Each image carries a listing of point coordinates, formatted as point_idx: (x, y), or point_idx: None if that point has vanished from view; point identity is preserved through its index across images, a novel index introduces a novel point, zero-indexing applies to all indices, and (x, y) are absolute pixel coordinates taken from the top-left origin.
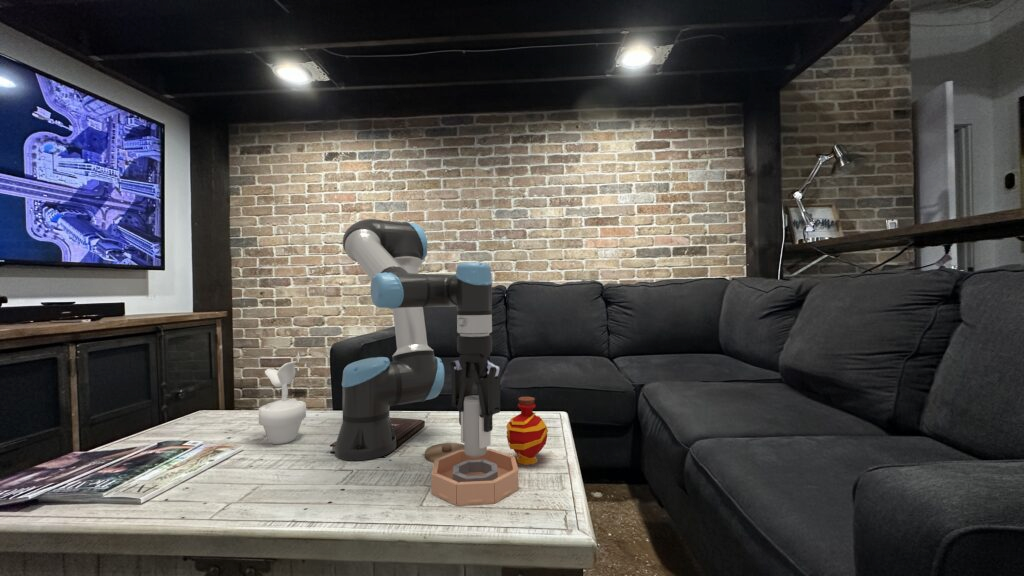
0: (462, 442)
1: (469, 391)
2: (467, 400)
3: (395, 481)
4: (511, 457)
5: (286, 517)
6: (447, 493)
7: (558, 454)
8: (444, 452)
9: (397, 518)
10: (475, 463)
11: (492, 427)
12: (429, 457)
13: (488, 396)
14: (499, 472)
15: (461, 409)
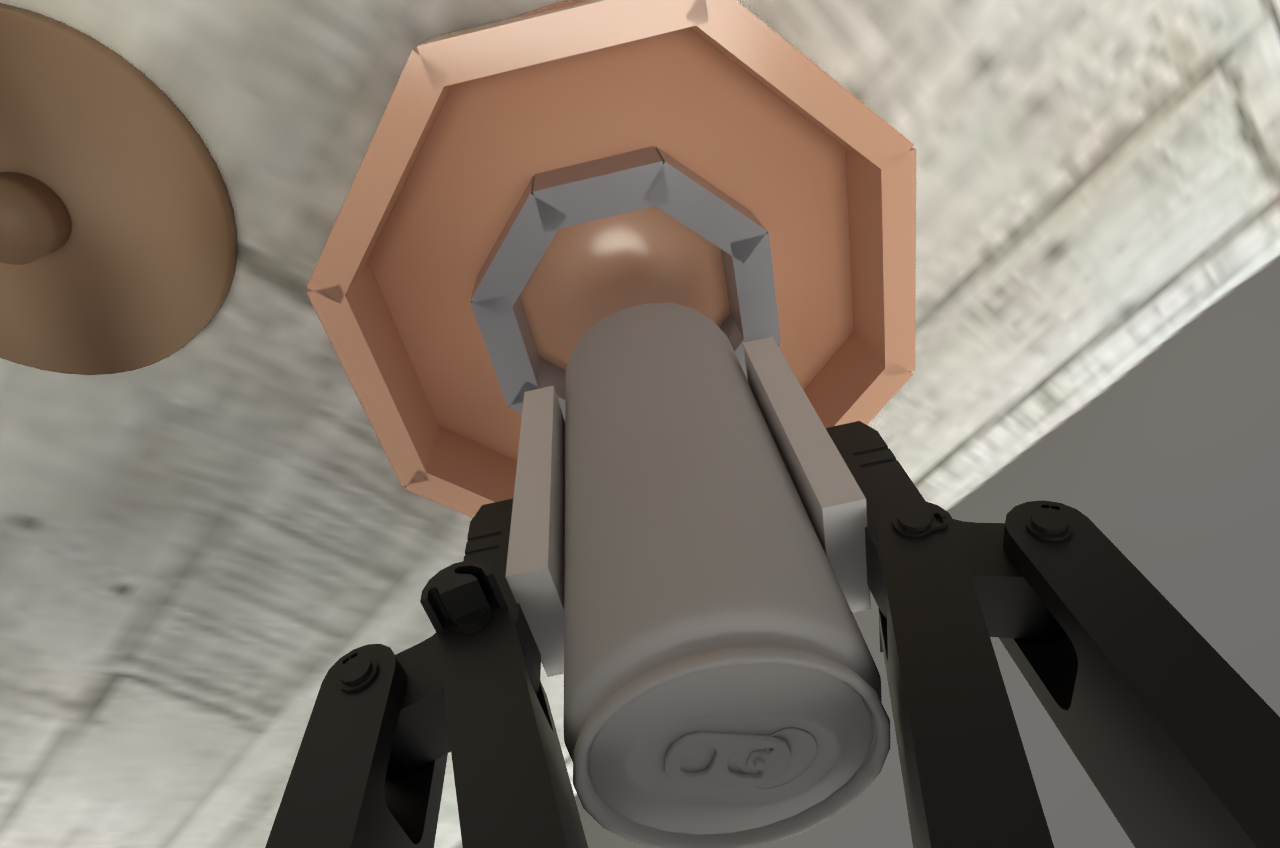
0: None
1: (571, 841)
2: (750, 835)
3: (355, 573)
4: (704, 20)
5: (451, 835)
6: None
7: None
8: (68, 247)
9: None
10: (535, 262)
11: (879, 436)
12: (130, 369)
13: (1129, 820)
14: (648, 112)
15: (542, 688)
